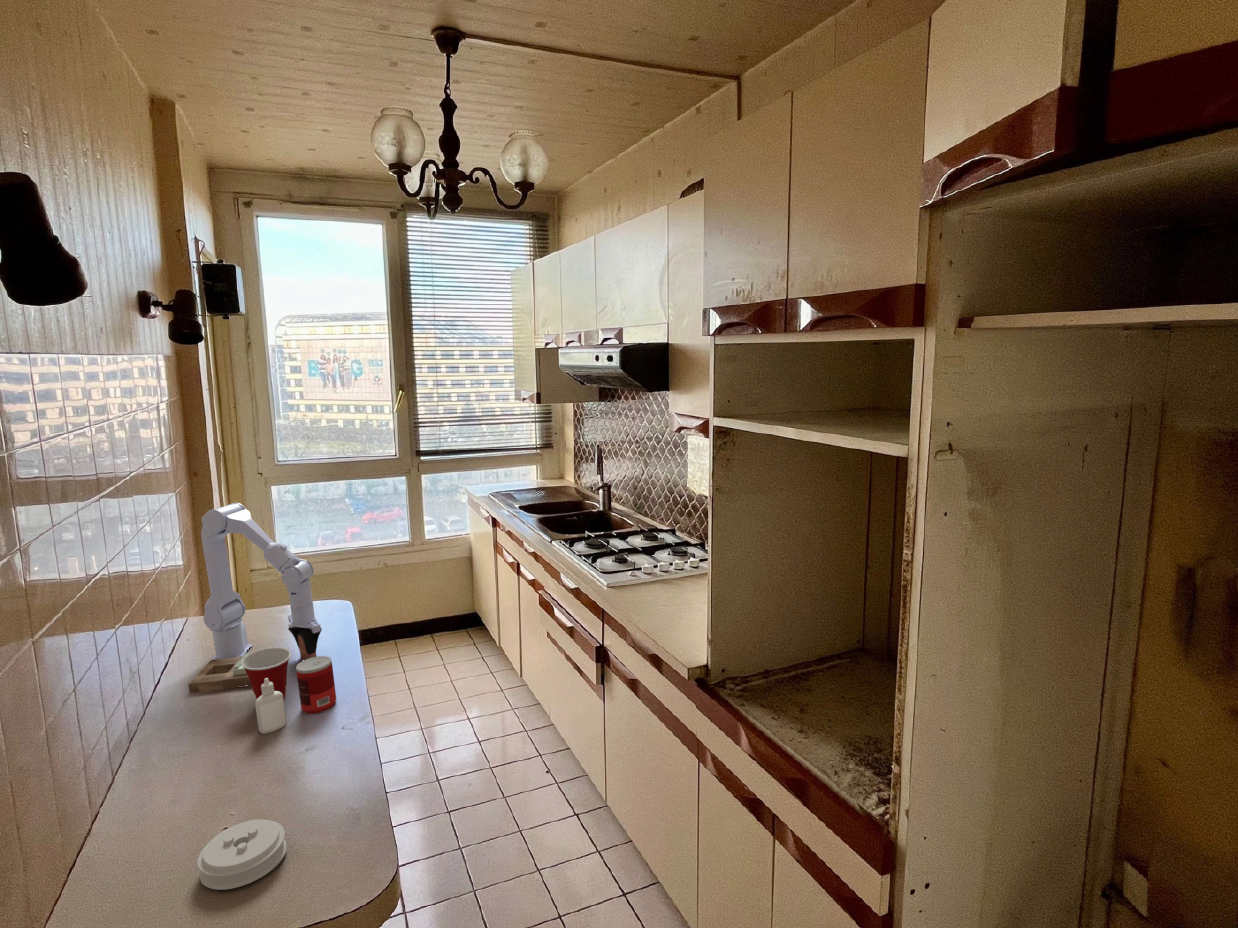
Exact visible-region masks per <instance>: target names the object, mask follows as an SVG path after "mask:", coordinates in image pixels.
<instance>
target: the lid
mask: <svg viewBox="0 0 1238 928" xmlns="http://www.w3.org/2000/svg"><path fill="white" fill-rule="evenodd" d="M285 835H286V832H285V828H284V827H283V825H281V823H278V821H274V820H269V819H251V820H248V821H243V822H240V823H237V824H235V825H232V826H230V827H228V828H226V829H224V830H223V831H221V832H220V833H218V834H217V835H216V836H215V837H213V838H212V839H211V840H210V841H209V842H208V843H207V844H205V846H204V847H203V849H202V850H201V851H200V853H199V855H198V858H197V867H198V870H199V879H200V881H201V884H202V886H204V887H206V888H209V889H212V890H219V891H221V890H222V891H224V890H231V889H237V888H240V887H243V886H245V885H248V884H251V883H253V882H254V881H257V880H259V879H260V878H262V877H264V876H266V875H267V874H268V873H270V872H271V871H273V870H274V869H275V867H277V865H279V864H280V862H281V861H282V860H283V858H284V856H285V855H286V853H287V848H288V846H287V842H286V839H285V837H286V836H285Z"/></svg>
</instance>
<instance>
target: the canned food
mask: <svg viewBox="0 0 1238 928" xmlns="http://www.w3.org/2000/svg"><path fill="white" fill-rule="evenodd" d="M295 668H296V669H295V672H296V681H297V686H298V694H299V700H300V706H301V707H300V709H301V710H302V712H303V713H304V714H308V715H315V714H320V713H323V712H326V711H328V710H330V709H331V708H333V707H334V706H335V705H336V701H337V693H336V684H335V675H334V668H333V661H332V658H331V657H330V656H325V655H324V656H323V655H320V656H319V655H318V656H317V655H316V657H312V658H309V659H306V660H304V661H302V660H301V662H299V663H297V665H296V667H295Z"/></svg>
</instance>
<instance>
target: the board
mask: <svg viewBox="0 0 1238 928" xmlns="http://www.w3.org/2000/svg"><path fill="white" fill-rule="evenodd" d="M241 659H242V657H235V658H226V659H217V660H212V659H211V660H209V661H208V662H207V664H206V665H205V666H204V667H203V668H202V669H201V670H200V671H199V672H198V673H197V674H196V675H195V676H194V677H193V678H192V679H191V680H190V682H188V690H189V693H190V694H194V693H201V692H211V691H219V690H227V689H226V688H229V689H235V688H236V687H237V688H240V687H239V686H245V685H251V683H250V680H249V678H248V675H247V674H240V675H233V669H234V667H235V666H236V664H237V663H238V662H239V661H240V660H241ZM245 687H246V686H245ZM237 688H236V689H237Z"/></svg>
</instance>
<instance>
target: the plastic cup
mask: <svg viewBox="0 0 1238 928" xmlns="http://www.w3.org/2000/svg"><path fill="white" fill-rule="evenodd" d="M250 653H251V654H248V655H247V656H246V657H244V658H243V659H242V661H241V665H242V666H243V668H245V671H246V673H247V675H248V678H249V680H250V683H251V686H250V687H251V689H252V692H253V695H254V696H255V699H256V700H257V699H258V698H259V697H260V696H261V695H262V689H261V685H262V684H264V679H265V678H268V680H269V682H272V683H273V686H274V691H279V692H281V693H282V694H283V699H286V695H287V694H286V693H287V688H286V687H287V679H288V677H287V676H288V666H289V660H290V659H291V655H292V652H291V651H290V650H289V649H288V648H285V647H275V646H274V647H267V648H262V649H259V650H255V651H253V652H250Z"/></svg>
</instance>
